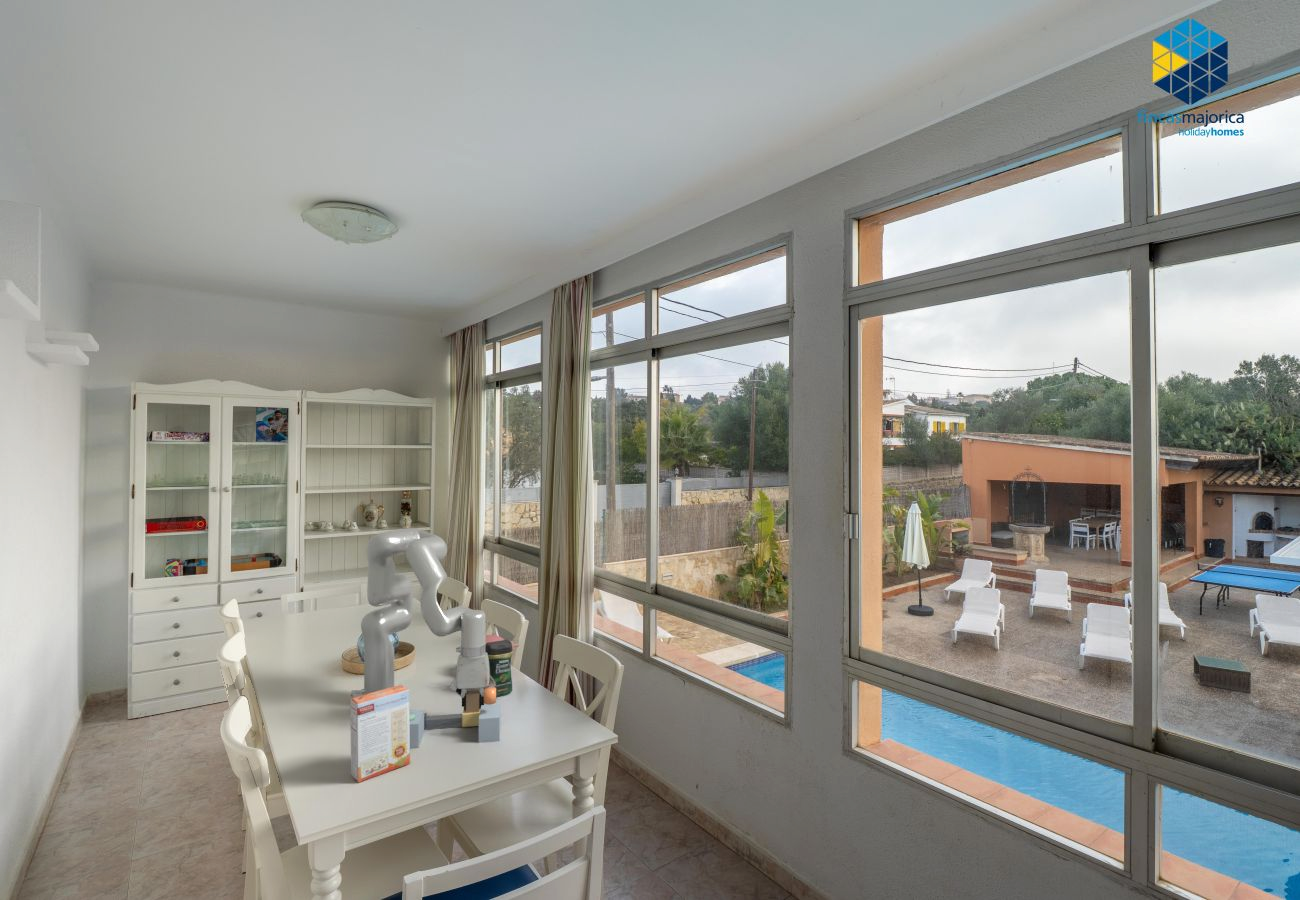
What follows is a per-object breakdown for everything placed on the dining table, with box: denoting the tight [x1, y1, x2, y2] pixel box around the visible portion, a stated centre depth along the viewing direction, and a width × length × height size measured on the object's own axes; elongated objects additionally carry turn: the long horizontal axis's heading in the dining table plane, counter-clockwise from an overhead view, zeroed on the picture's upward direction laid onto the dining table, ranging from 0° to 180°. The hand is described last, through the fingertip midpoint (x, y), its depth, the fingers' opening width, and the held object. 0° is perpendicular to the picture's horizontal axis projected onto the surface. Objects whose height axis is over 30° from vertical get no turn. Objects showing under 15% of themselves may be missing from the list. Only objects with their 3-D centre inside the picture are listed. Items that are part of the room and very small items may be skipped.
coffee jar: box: [486, 639, 514, 698], centre depth 221 cm, size 10×8×19 cm
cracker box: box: [349, 684, 411, 783], centre depth 168 cm, size 14×6×21 cm, turn 134°
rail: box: [424, 712, 470, 731], centre depth 195 cm, size 20×3×4 cm, turn 101°
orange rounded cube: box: [484, 687, 497, 705], centre depth 188 cm, size 4×4×4 cm
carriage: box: [461, 688, 481, 728], centre depth 196 cm, size 6×5×10 cm
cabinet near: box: [409, 709, 425, 749], centre depth 185 cm, size 7×10×8 cm
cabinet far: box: [478, 703, 502, 743], centre depth 190 cm, size 6×10×7 cm, turn 11°
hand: (473, 707), depth 196 cm, fingers closed on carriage, 4 cm apart
